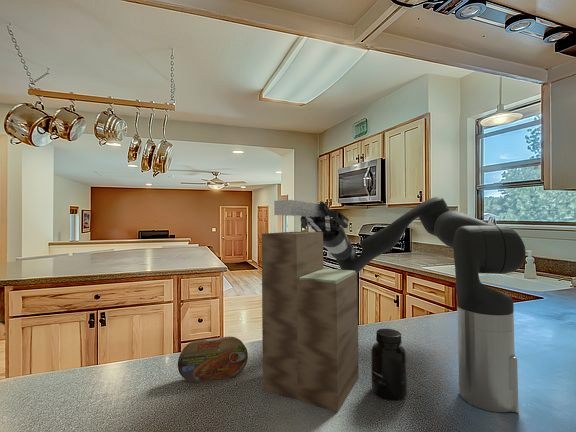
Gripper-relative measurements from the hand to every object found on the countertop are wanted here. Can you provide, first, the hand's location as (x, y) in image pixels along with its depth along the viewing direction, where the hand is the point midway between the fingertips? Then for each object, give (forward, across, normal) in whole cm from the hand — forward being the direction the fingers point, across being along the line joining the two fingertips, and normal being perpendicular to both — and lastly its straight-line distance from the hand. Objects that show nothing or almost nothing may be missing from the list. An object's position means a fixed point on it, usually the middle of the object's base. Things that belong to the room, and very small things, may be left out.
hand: (312, 204), depth 79 cm
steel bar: (+3, 0, -5) cm, 5 cm away
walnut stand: (-10, -4, -39) cm, 41 cm away
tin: (-4, +17, -43) cm, 46 cm away
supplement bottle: (-13, -19, -37) cm, 44 cm away
